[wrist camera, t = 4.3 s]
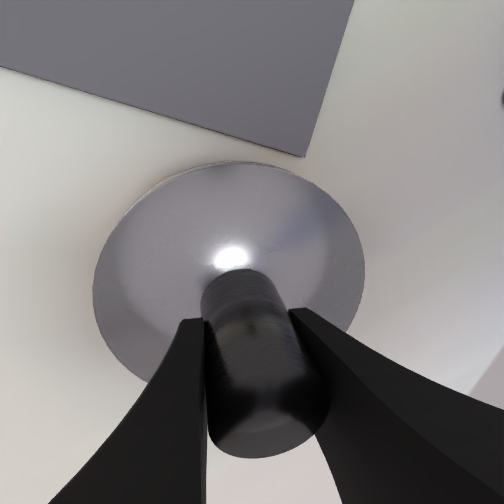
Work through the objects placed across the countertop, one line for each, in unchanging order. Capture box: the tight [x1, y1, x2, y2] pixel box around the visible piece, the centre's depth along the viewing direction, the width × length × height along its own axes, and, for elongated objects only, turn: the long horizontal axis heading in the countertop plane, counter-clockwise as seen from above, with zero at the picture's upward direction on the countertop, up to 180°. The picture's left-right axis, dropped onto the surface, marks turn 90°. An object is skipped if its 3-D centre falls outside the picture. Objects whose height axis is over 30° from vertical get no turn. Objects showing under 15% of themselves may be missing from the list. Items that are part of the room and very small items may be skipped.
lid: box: [93, 161, 365, 458], centre depth 9 cm, size 10×10×5 cm
